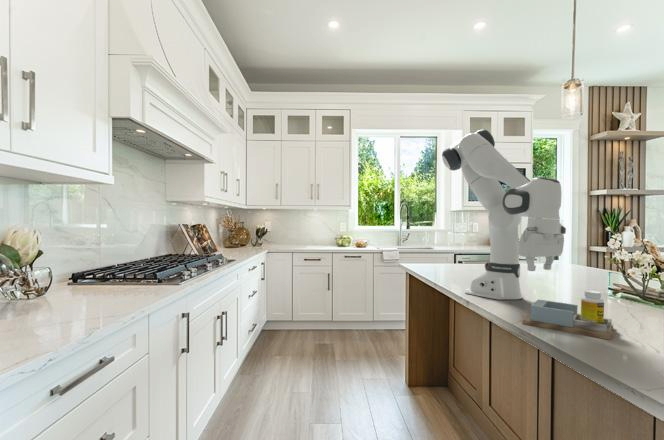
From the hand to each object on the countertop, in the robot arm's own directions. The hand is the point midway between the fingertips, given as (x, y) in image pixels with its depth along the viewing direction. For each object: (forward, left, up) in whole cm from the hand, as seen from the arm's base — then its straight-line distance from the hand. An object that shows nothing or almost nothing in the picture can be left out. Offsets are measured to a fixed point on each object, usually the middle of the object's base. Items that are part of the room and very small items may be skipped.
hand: (539, 270), depth 116 cm
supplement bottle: (+14, 0, -15) cm, 21 cm away
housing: (+4, -1, -15) cm, 16 cm away
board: (+8, -1, -16) cm, 18 cm away
